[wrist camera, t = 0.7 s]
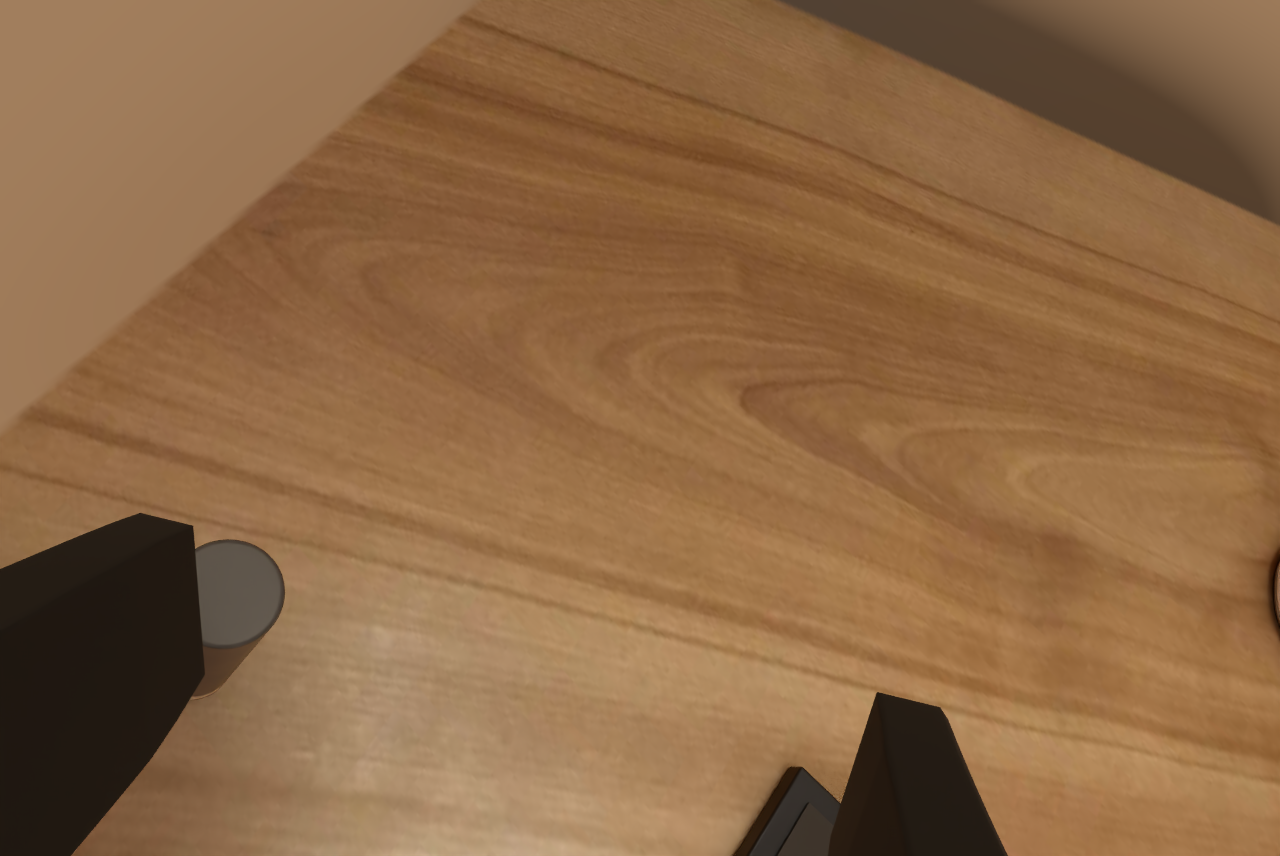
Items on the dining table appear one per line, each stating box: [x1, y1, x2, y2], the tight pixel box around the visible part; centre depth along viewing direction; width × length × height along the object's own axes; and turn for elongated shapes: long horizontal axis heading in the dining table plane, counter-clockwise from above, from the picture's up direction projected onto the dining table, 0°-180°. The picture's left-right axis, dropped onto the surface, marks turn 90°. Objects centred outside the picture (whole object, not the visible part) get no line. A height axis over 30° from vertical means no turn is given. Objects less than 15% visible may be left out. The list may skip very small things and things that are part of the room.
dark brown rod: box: [190, 539, 285, 699], centre depth 20 cm, size 2×2×11 cm
